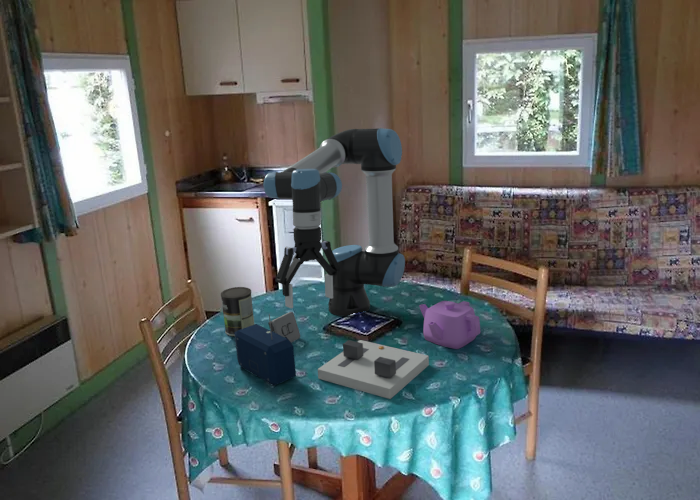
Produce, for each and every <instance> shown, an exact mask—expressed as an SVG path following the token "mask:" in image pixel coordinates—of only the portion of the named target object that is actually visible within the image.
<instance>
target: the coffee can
mask: <svg viewBox="0 0 700 500" xmlns="http://www.w3.org/2000/svg"><path fill="white" fill-rule="evenodd" d="M252 297H253V296H252V289H251V288H249V287H245V286H235V287H230V288H227V289H224V290H223V291H221V292H220V298H221V305H222V313H223V322H224V330H225V334H226V335H227V336H230V337H235V335H234V332H236V331H238V330H241V329H243V328H246V327H249V326H252V325H254V324H255V317H254V307H253V299H252Z"/></svg>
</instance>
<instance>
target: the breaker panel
mask: <svg viewBox="0 0 700 500" xmlns="http://www.w3.org/2000/svg"><path fill="white" fill-rule="evenodd" d="M357 342H359V343H363V356H362V357H361V358H360V359H358V360H356V359H352V358H348V357H344V354H343V351H342V352H340V353H339V354H337V355H336V356H334V357H333V358H332V359H330V360H329V361H328V362H326V363H324V364H323V365H321V366H320V367H319V368H317V377H318V378H317V379H318V380H323V381H325V382H329V383H333V384H336V385H339V386H343V387H346V388H347V387H348V388H350V389H354V390H357V391H360V392H364V393H367V394H370V395H373V396H379V397H381V398H385V399H388V400H391V399H392V398H393V397H394V396H396V395H397V394H398V393H399V392H400V391H401V390H402V389H404V387H406V386H407V385H408V384H409V383H410V382H412V380H414V379H415V378H416V377H417V376H418V375H419V374H421V373H422V372H423V371H424V370H425V369H426V368H428V367H429V365H430V361H429V357H430V356H429V355H428V354H423V353H418V352H416V351H415V352H414V351H409V350H405V349H401V348H396V347H392V346H388V345H384V344H379V343H375V342H371V341H366V340H361V339H360V340H358V341H357ZM379 357H383V358H388V359H392V360H395V362H396V374H395V375H394V376H393V377H391V378H388V377H384V376H380V375H376V374H375V367H374V361H375V360H376V359H377V358H379Z"/></svg>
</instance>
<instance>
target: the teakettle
mask: <svg viewBox="0 0 700 500" xmlns="http://www.w3.org/2000/svg"><path fill="white" fill-rule="evenodd" d="M470 305H471V304H470V302H469V301H466V300H463V301H461V302H459V303H458V302H454V301H450V300H449V301H448V300H442V301H439V302H437V303H436V304H434V305H432V306H430V307H428V306H427V304H423V303H422V304H419V305H418V307H419V309H420V312H421V314H422V317H423V318H424V320H423V331H422V333H423V337H424V340H425V341H427V342H429V343H432V344H435V345H438V346H441V347H445V348H450V349H453V350H459V349H461V348H464V347H465V346H467V345H469V344H470V343H471V342H473V341H475V339H476V338H477V336H479V335H480V334H481V323H480V316H478V315H476V313H475V310H474V308H473V307H472V306H470Z"/></svg>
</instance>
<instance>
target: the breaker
mask: <svg viewBox="0 0 700 500" xmlns="http://www.w3.org/2000/svg"><path fill="white" fill-rule="evenodd" d="M374 367H375V374H376V375H380V376H384V377H388V378H391V377H393V376H394V375H395V374H396V362H395V360H392V359H388V358H383V357H379V358H377V359H376V360H375V361H374Z"/></svg>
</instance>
